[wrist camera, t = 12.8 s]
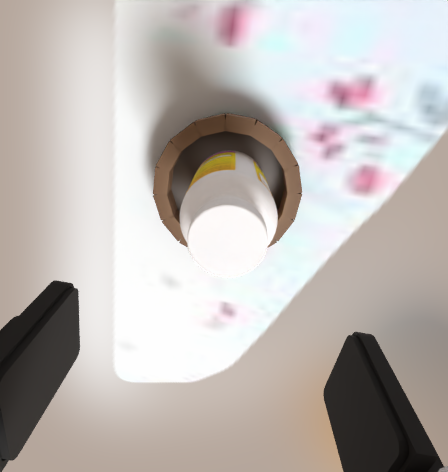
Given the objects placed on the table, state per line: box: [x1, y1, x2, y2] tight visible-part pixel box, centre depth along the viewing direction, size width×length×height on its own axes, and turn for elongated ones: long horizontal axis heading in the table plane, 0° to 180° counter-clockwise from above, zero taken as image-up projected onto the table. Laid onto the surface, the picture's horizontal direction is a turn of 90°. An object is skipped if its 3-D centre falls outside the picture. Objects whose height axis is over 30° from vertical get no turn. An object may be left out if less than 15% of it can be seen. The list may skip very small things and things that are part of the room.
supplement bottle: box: [180, 150, 278, 277], centre depth 24 cm, size 7×7×13 cm
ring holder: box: [153, 113, 302, 248], centre depth 29 cm, size 13×13×3 cm
